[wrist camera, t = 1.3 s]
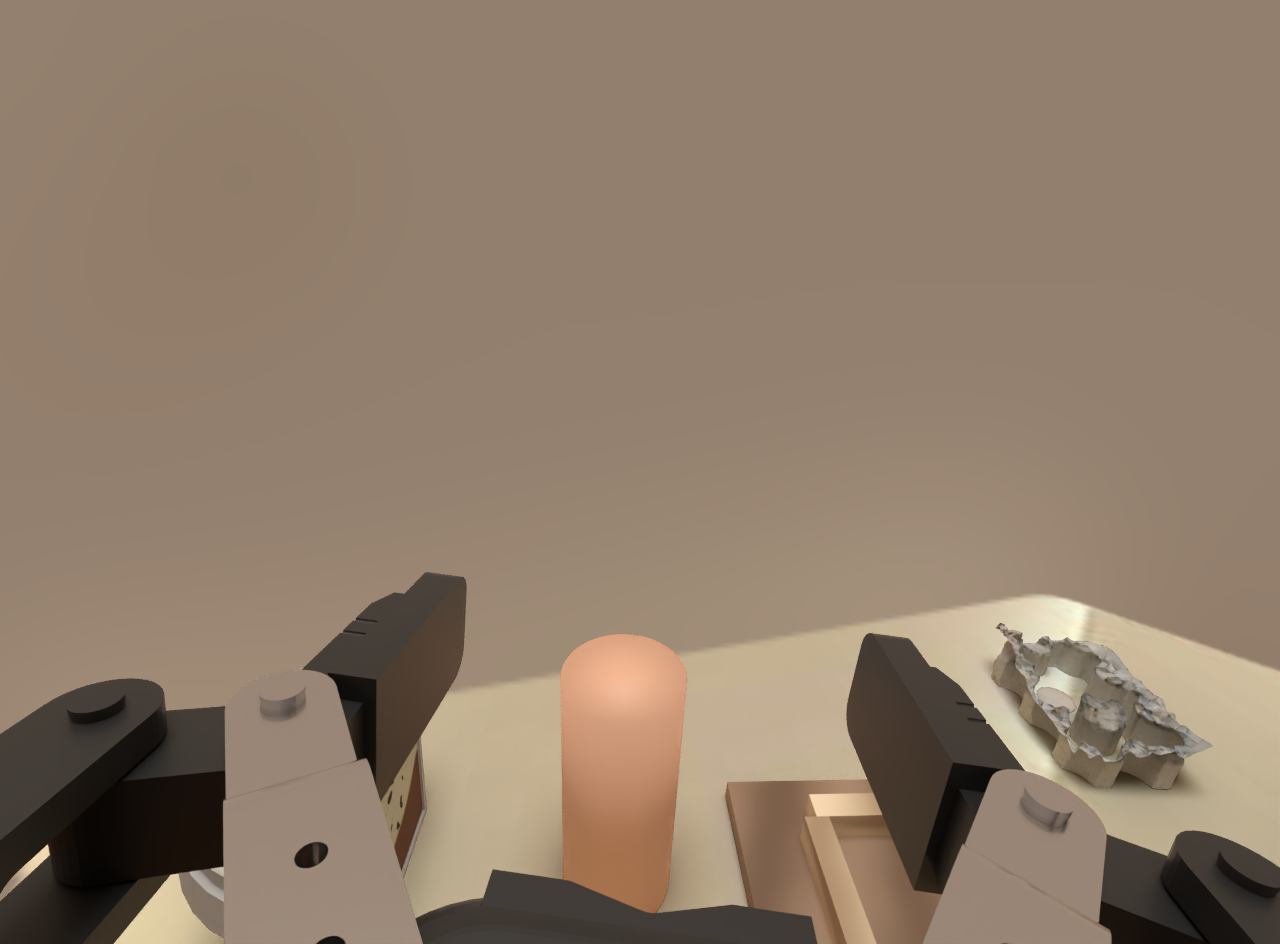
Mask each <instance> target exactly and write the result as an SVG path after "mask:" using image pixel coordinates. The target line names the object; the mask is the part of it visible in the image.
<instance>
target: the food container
mask: <svg viewBox="0 0 1280 944" xmlns="http://www.w3.org/2000/svg"><path fill="white" fill-rule="evenodd" d="M302 669H303V668H302ZM302 669H300V670H302ZM381 805H382V808H383V812H384V815H385V819H386V822H387V825H388V829H389V832H390V835H391V839H392V842H393V845H394V849H395V852H396V855H397V859H398V862H399V865H400V869H401V872H402V876H403V878H404V875H405V873H406V870H407V867H408V864H409V861H410V858H411V855H412V852H413V849H414V846H415V843H416V840H417V837H418V834H419V831H420V828H421V825H422V822H423V819H424V816H425V813H426V810H427V805H426V794H425V782H424V770H423V759H422V747H421V736H420V738H419V739H418V741H417V743H416V744H415V746H414V748H413V749H412V751H411V753H410V754H409V756H408V758H407V759H406V761H405V763H404V764H403V766H402V768H401V769H400V771H399V773H398V774H397V776H396V777H395V779H394V781H393V782H392V784H391V786H390V787H389V789H388V791H387V792H386V794H385V796H384V797H383V799H382V801H381ZM179 878H180V883H181V888H182V892H183V894H184V896H185V898H186V900H187V902H188V904H189V906H190V908H191V910H192V912H193V913H194V914H195V915H196V916H197V917H198V918H199V919H200V920H201V921H202V923H203V924H204V925H205V926H206V927H207V928H208V929H209V930H211V931H212V932H214V933H216V934H217V935H219V936H221V937H222V938H224V867H219V868H212V869H205V870H198V871H192V872H185V873H179Z"/></svg>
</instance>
